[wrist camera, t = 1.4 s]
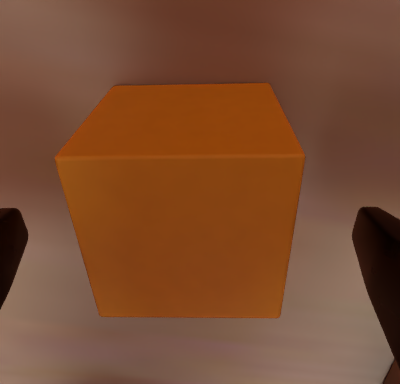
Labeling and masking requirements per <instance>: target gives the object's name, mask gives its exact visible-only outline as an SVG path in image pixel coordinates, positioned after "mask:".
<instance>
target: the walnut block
mask: <svg viewBox="0 0 400 384" xmlns="http://www.w3.org/2000/svg"><path fill="white" fill-rule="evenodd" d="M383 384H400V370H399V368H398V365H397V363H396V360H395V361H394V363H393V365H392V367H391V369H390V371H389V373H388V375H387V377H386V379H385V381H384V383H383Z"/></svg>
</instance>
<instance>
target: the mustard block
mask: <svg viewBox="0 0 400 384" xmlns="http://www.w3.org/2000/svg"><path fill="white" fill-rule="evenodd" d="M55 163H56V167H57V170H58V174H59V177H60V180H61V184H62V187H63V191H64V194H65V198H66V201H67V205H68V208H69V212H70V215H71V219H72V222H73V226H74V229H75V232H76V236H77V239H78V243H79V246H80V250H81V253H82V257H83V260H84V264H85V267H86V271H87V274H88V278H89V281H90V284H91V288H92V291H93V295H94V298H95V302H96V305H97V309H98V312H99V315H100V316H101V317H191V318H279V317H280V314H281V307H282V301H283V295H284V289H285V282H286V276H287V270H288V263H289V257H290V251H291V244H292V238H293V232H294V226H295V219H296V213H297V207H298V200H299V194H300V188H301V182H302V175H303V169H304V163H305V154H304V152H303V150H302V148H301V146H300V144H299V142H298V140H297V138H296V136H295V134H294V132H293V130H292V128H291V126H290V124H289V122H288V120H287V118H286V116H285V114H284V112H283V110H282V108H281V106H280V104H279V102H278V100H277V98H276V96H275V94H274V92H273V90H272V88H271V86H270V84H269V83H239V84H183V85H127V86H113V87H112V88H111V89H110V91H109V92H108V93H107V94H106V95H105V97H104V98H103V99H102V100H101V101H100V103H99V104H98V105H97V106H96V108H95V109H94V110H93V111H92V112H91V114H90V115H89V116H88V117H87V118H86V120H85V121H84V122H83V123H82V125H81V126H80V127H79V128H78V129H77V131H76V132H75V133H74V134H73V136H72V137H71V138H70V139H69V140H68V142H67V143H66V144H65V145H64V146H63V148H62V149H61V150H60V151H59V153H58V154H57V155H56V156H55Z"/></svg>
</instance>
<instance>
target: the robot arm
mask: <svg viewBox="0 0 400 384" xmlns="http://www.w3.org/2000/svg"><path fill="white" fill-rule="evenodd" d="M352 240H353V244H354V247H355V251H356V254H357V258H358V261H359V265H360V269H361V272H362V276H363V279H364V283H365V286H366V289H367V292H368V295H369V297H370V300H371V302H372V305H373V307H374V310H375V312H376V314H377V317H378V319H379V322H380V324H381V327H382V329H383V331H384V334H385V336H386V339H387V341H388V343H389V346H390V348H391V351H392V353H393V355H394V358H395V360H396V363H397V365H398V368H399V370H400V220H399V219H398V218H396V217H394V216H392V215H391V214H389V213H387V212H385V211H384V210H382V209H380V208H378V207H362V208H360V209H359V211H358V214H357V217H356V221H355V224H354V228H353V232H352ZM27 241H28V230H27V228H26V225H25V223H24V220H23V217H22V215H21V212H20V211H19V210H18V209H16V208H1V209H0V309H1V307H2V305H3V303H4V301H5V299H6V297H7V295H8V292H9V290H10V288H11V285H12V283H13V280H14V278H15V275H16V272H17V269H18V266H19V264H20V261H21V258H22V255H23V253H24V250H25V247H26V244H27Z"/></svg>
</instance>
